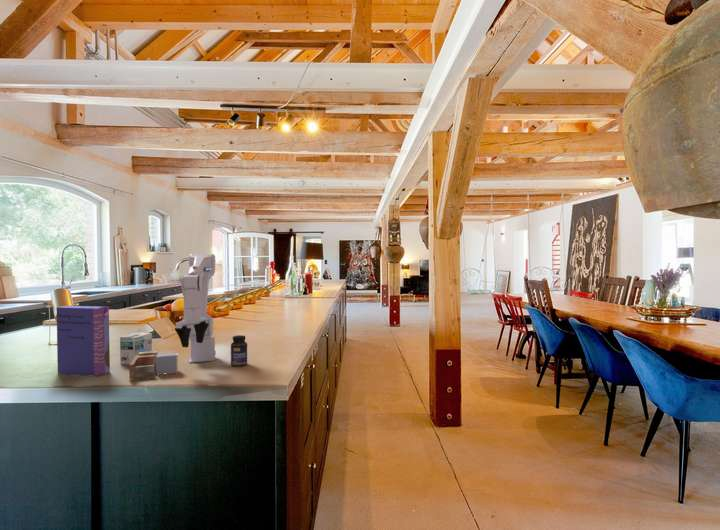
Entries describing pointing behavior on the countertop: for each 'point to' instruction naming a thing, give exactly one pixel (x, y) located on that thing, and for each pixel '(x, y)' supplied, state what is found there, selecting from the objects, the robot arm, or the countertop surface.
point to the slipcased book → (167, 363)
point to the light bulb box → (134, 346)
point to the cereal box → (83, 340)
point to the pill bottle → (239, 351)
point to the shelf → (143, 365)
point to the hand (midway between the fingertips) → (192, 344)
